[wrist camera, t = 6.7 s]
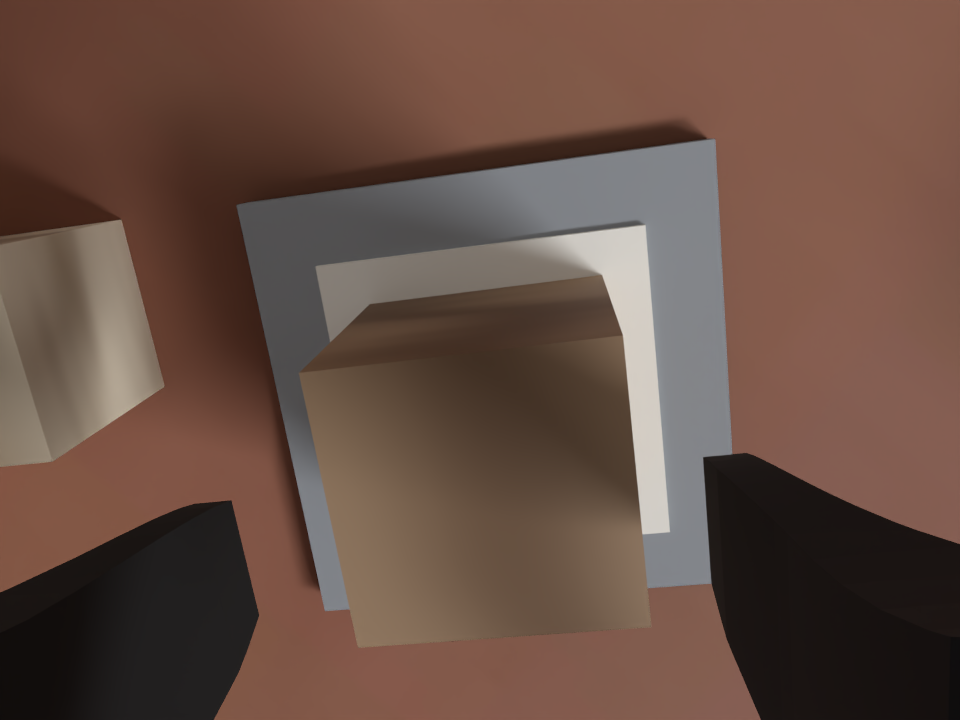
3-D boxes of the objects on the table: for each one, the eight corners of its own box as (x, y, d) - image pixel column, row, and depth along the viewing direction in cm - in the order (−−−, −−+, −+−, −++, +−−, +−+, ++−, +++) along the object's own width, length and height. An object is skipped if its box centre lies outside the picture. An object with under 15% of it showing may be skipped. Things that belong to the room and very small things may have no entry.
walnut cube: (408, 512, 18) (358, 647, 14) (370, 304, 17) (298, 372, 12) (624, 492, 18) (651, 627, 13) (601, 275, 16) (622, 335, 12)
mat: (331, 597, 20) (323, 614, 19) (246, 202, 17) (233, 205, 17) (733, 567, 19) (740, 584, 18) (709, 138, 16) (716, 139, 15)
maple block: (13, 402, 19) (-140, 480, 15) (-37, 241, 18) (-218, 276, 14) (165, 385, 19) (52, 461, 15) (122, 219, 18) (-14, 247, 14)
